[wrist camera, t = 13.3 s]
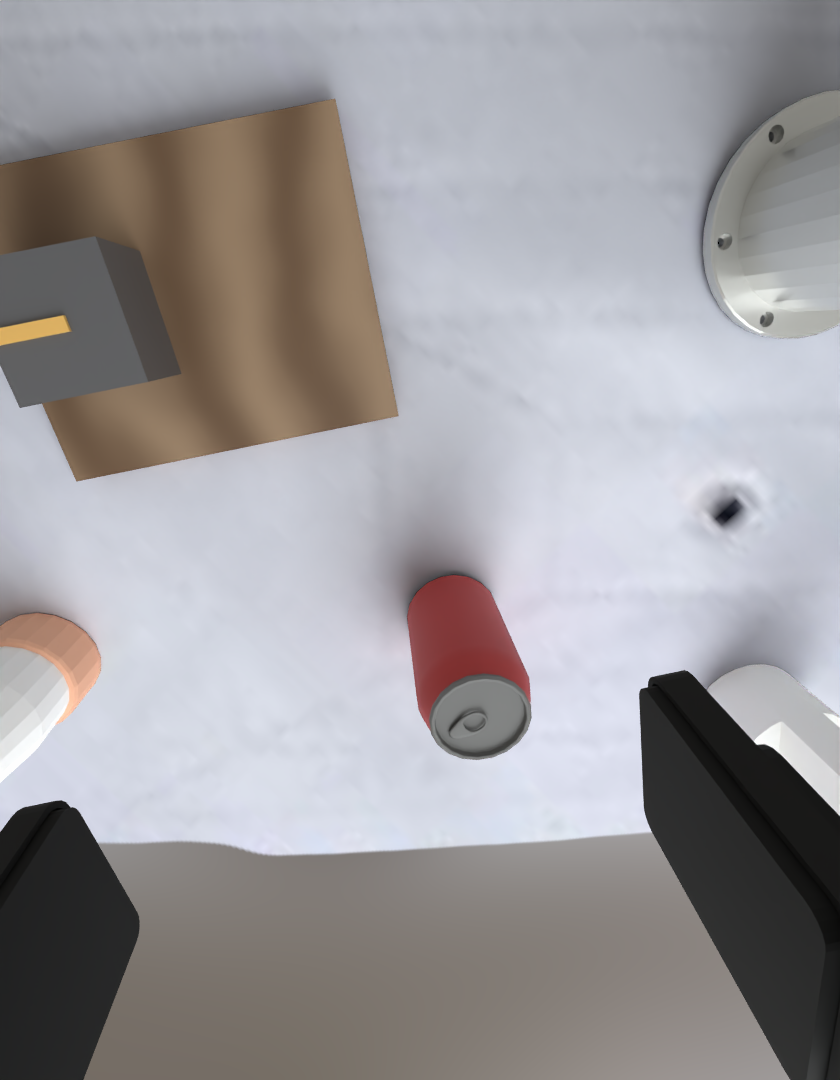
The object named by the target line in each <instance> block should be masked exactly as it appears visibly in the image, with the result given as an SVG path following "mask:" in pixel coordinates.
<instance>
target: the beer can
mask: <svg viewBox="0 0 840 1080" xmlns="http://www.w3.org/2000/svg"><path fill="white" fill-rule="evenodd" d="M407 620H408V628H409V637H410V645H411V653H412V662H413V670H414V678H415V687H416V695H417V701H418V708H419V711H420V713H421V716H422V718H423V719H424V721H425V723H426V724H427V726H428V728H429V729H430V731H431V734H432V736H433V738H434V739H435V741H436V743H437V744H438V745H439V746H440V747H441V748H442V749H444V750H445V751H446V752H447V753H449V754H451V755H454V756H457V757H459V758H462V759H472V760H480V759H486V758H492V757H495V756H497V755H499V754H502V753H504V752H507V751H508V750H509V749H511V748H512V747H513V746H515V745H516V744H517V743H518V742H519V741H520V740H521V739H522V737H523V736H524V734H525V733H526V732H527V730H528V727H529V724H530V721H531V704H530V701H531V699H530V683H529V677H528V675H527V672H526V670H525V668H524V666H523V663H522V661H521V659H520V657H519V654H518V652H517V650H516V648H515V646H514V643H513V641H512V639H511V637H510V634H509V632H508V630H507V628H506V625H505V623H504V621H503V619H502V616H501V614H500V612H499V610H498V608H497V605H496V603H495V601H494V599H493V597H492V595H491V593H490V591H489V590H488V589H487V588H486V587H485V586H484V585H483V584H482V583H480V582H478V581H476V580H474V579H472V578H470V577H465V576H458V575H450V576H444V577H439V578H437V579H435V580H433V581H431V582H428V583H427V584H426V585H425V586H423V587H422V588H421V589H420V590H419V591H418V592H417V593H416V594H415V596H414V598H413V599H412V601H411V603H410V605H409V610H408V615H407Z"/></svg>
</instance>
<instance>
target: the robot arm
mask: <svg viewBox="0 0 840 1080" xmlns="http://www.w3.org/2000/svg"><path fill="white" fill-rule="evenodd" d="M718 240H719V246H718V244H717V243H718ZM703 258H704V267H705V274H706V277H707V280H708V283H709V286H710V290H711V292H712V294H713V296H714V298H715V300H716V301H717V303H718V305H719V307H720V308H721V309H722V310H723V312H724V313H725V314H726V315H727V316H728V317H729V318H730V319H731V320H732V321H733V322H734V323H736V324H737V325H739V326H740V327H742V328H743V329H745V330H746V331H749V332H751V333H754V334H757V335H760V336H762V337H771V338H779V339H783V338H802V337H807V336H812V335H817V334H819V333H822V332H824V331H827V330H829V329H832V328H834V327H836V326H838V325H839V324H840V90H833V91H825V92H822V93H819V94H816V95H812V96H809V97H806V98H804V99H802V100H800V101H798V102H796V103H794V104H792V105H790V106H788V107H786V108H784V109H783V110H781V111H780V112H778V113H777V114H775V115H774V116H772V117H771V118H769V119H768V120H766V121H765V122H763V123H762V124H761V125H760V126H759V127H758V128H757V129H756V130H755V131H754V132H753V133H752V134H751V135H750V136H749V137H748V138H747V139H746V140H745V141H744V142H743V144H742V145H741V146H740V147H739V149H738V150H737V151H736V153H735V154H734V155H733V157H732V158H731V159H730V161H729V163H728V164H727V166H726V168H725V170H724V172H723V173H722V175H721V177H720V179H719V181H718V183H717V185H716V188H715V191H714V193H713V196H712V199H711V201H710V204H709V207H708V212H707V217H706V222H705V226H704V237H703ZM639 700H640V724H641V748H642V773H643V797H644V811H645V815H646V818H647V821H648V824H649V826H650V829H651V831H652V833H653V834H654V836H655V838H656V840H657V841H658V843H659V845H660V847H661V849H662V851H663V852H664V854H665V856H666V858H667V860H668V861H669V863H670V865H671V867H672V869H673V870H674V872H675V874H676V875H677V878H678V879H679V881H680V883H681V885H682V887H683V888H684V890H685V892H686V894H687V896H688V897H689V899H690V901H691V903H692V905H693V906H694V908H695V910H696V912H697V913H698V915H699V917H700V919H701V921H702V923H703V924H704V926H705V928H706V929H707V931H708V933H709V935H710V937H711V939H712V941H713V942H714V944H715V946H716V948H717V950H718V951H719V953H720V955H721V957H722V959H723V960H724V962H725V964H726V966H727V968H728V969H729V971H730V973H731V975H732V977H733V978H734V980H735V982H736V984H737V986H738V987H739V989H740V991H741V993H742V995H743V996H744V998H745V1000H746V1002H747V1004H748V1005H749V1007H750V1009H751V1011H752V1013H753V1014H754V1016H755V1018H756V1020H757V1022H758V1023H759V1025H760V1027H761V1029H762V1030H763V1032H764V1034H765V1036H766V1038H767V1040H768V1041H769V1043H770V1045H771V1047H772V1049H773V1050H774V1052H775V1054H776V1056H777V1058H778V1059H779V1061H780V1063H781V1065H782V1067H783V1068H784V1070H785V1072H786V1073H787V1075H788V1077H789V1078H790V1080H840V816H839V815H838V814H837V813H836V811H835V810H834V809H833V808H832V807H831V806H830V805H829V804H828V803H827V802H826V801H825V800H824V799H823V798H822V797H821V796H820V795H819V794H818V793H817V792H816V791H815V790H814V789H813V787H812V786H811V785H810V784H809V783H808V782H807V781H806V780H805V779H804V778H803V777H802V776H801V775H800V774H799V773H798V772H797V771H796V770H795V769H794V768H793V767H792V766H791V765H790V763H789V762H788V761H787V760H786V759H785V758H784V757H783V756H782V755H781V754H779V753H778V752H777V751H776V750H775V749H774V748H772V747H770V746H768V745H766V744H759V745H757V744H756V743H755V742H754V741H753V740H752V739H751V738H750V737H749V736H748V735H747V734H746V733H745V731H744V730H743V729H742V728H741V727H740V726H739V725H738V724H737V723H736V722H735V721H734V720H733V718H732V717H731V716H730V715H729V714H728V713H727V712H726V711H725V710H724V709H723V708H722V707H721V705H720V704H719V703H718V702H717V701H716V700H715V699H714V698H713V697H712V696H711V695H710V694H709V692H708V691H707V690H706V689H705V688H704V687H703V686H702V685H701V684H700V683H699V682H698V681H697V679H696V678H695V677H694V676H693V675H692V674H691V673H689V672H688V671H685V670H684V671H679V672H674V673H669V674H664V675H659V676H655V677H651V678H650V679H649V682H648V688H643V689H641V690H640V693H639ZM138 934H139V916H138V913H137V911H136V910H135V908H134V906H133V904H132V902H131V901H130V899H129V897H128V896H127V894H126V892H125V890H124V889H123V887H122V885H121V883H120V882H119V880H118V878H117V876H116V875H115V873H114V871H113V870H112V868H111V866H110V864H109V863H108V861H107V859H106V857H105V856H104V854H103V852H102V850H101V849H100V847H99V845H98V843H97V842H96V840H95V838H94V837H93V835H92V833H91V831H90V830H89V828H88V826H87V824H86V823H85V821H84V819H83V817H82V816H81V814H80V812H79V811H78V810H77V809H75V808H73V807H72V808H71V807H70V806H69V805H68V804H67V803H66V802H64V801H62V800H61V801H53V802H48V803H43V804H39V805H34V806H29V807H24V808H22V809H20V810H18V811H17V812H16V813H15V814H14V815H13V816H12V817H11V818H10V820H9V821H8V823H7V824H6V825H5V827H4V828H3V829H2V831H1V832H0V1080H83V1079H84V1076H85V1074H86V1071H87V1069H88V1066H89V1063H90V1061H91V1058H92V1056H93V1053H94V1050H95V1048H96V1045H97V1043H98V1040H99V1037H100V1035H101V1032H102V1030H103V1027H104V1024H105V1022H106V1019H107V1017H108V1014H109V1011H110V1009H111V1006H112V1003H113V1001H114V998H115V996H116V993H117V991H118V988H119V985H120V983H121V980H122V977H123V975H124V972H125V970H126V967H127V965H128V962H129V959H130V957H131V954H132V952H133V949H134V946H135V944H136V941H137V938H138Z"/></svg>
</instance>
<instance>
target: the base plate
mask: <svg viewBox="0 0 840 1080" xmlns="http://www.w3.org/2000/svg"><path fill="white" fill-rule="evenodd" d="M94 236H96V237H99V238H102V239H105V240H108V241H111V242H114V243H117V244H120V245H123V246H126V247H129V248H132V249H135V250H138V251H140V253H141V256H142V259H143V262H144V265H145V268H146V271H147V274H148V276H149V279H150V282H151V285H152V288H153V291H154V294H155V297H156V300H157V303H158V306H159V309H160V312H161V315H162V318H163V321H164V324H165V327H166V330H167V333H168V335H169V338H170V341H171V344H172V347H173V350H174V353H175V356H176V359H177V362H178V365H179V368H180V371H181V374H179V375H175V376H171V377H167V378H162V379H158V380H154V381H150V382H145V383H140V384H135V385H130V386H126V387H121V388H116V389H111V390H106V391H101V392H96V393H91V394H86V395H81V396H76V397H71V398H66V399H61V400H56V401H51V402H46V403H42V404H43V407H44V409H45V411H46V414H47V416H48V418H49V420H50V423H51V425H52V427H53V429H54V432H55V434H56V436H57V438H58V441H59V443H60V445H61V448H62V450H63V452H64V454H65V457H66V459H67V461H68V463H69V466H70V468H71V470H72V472H73V475H74V477H75V479H76V481H81V480H86V479H91V478H96V477H101V476H106V475H111V474H116V473H121V472H125V471H130V470H135V469H140V468H145V467H150V466H155V465H160V464H165V463H170V462H175V461H180V460H185V459H189V458H194V457H199V456H204V455H209V454H214V453H219V452H224V451H229V450H234V449H239V448H244V447H248V446H253V445H258V444H263V443H268V442H273V441H278V440H283V439H288V438H293V437H298V436H303V435H308V434H312V433H317V432H322V431H327V430H332V429H337V428H342V427H347V426H352V425H357V424H362V423H367V422H372V421H376V420H381V419H386V418H391V417H396V416H398V411H397V406H396V401H395V396H394V391H393V386H392V381H391V376H390V371H389V366H388V361H387V356H386V351H385V346H384V341H383V336H382V331H381V326H380V321H379V316H378V311H377V306H376V301H375V296H374V291H373V286H372V281H371V276H370V271H369V266H368V261H367V256H366V251H365V246H364V241H363V236H362V231H361V226H360V221H359V216H358V211H357V206H356V200H355V195H354V190H353V185H352V180H351V175H350V170H349V165H348V160H347V155H346V150H345V145H344V140H343V135H342V130H341V125H340V120H339V115H338V110H337V105H336V100H335V99H331V100H326V101H321V102H316V103H311V104H306V105H301V106H296V107H291V108H286V109H281V110H276V111H271V112H265V113H260V114H255V115H250V116H245V117H240V118H235V119H230V120H225V121H220V122H215V123H210V124H205V125H200V126H195V127H190V128H185V129H180V130H175V131H170V132H165V133H160V134H155V135H150V136H144V137H139V138H134V139H129V140H124V141H119V142H114V143H109V144H104V145H99V146H94V147H89V148H84V149H79V150H74V151H69V152H64V153H59V154H54V155H49V156H44V157H39V158H34V159H29V160H23V161H18V162H13V163H8V164H3V165H0V255H3V254H9V253H14V252H19V251H24V250H29V249H34V248H39V247H44V246H49V245H54V244H59V243H64V242H69V241H74V240H79V239H84V238H89V237H94Z"/></svg>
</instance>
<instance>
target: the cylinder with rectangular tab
mask: <svg viewBox="0 0 840 1080" xmlns="http://www.w3.org/2000/svg"><path fill="white" fill-rule="evenodd" d="M707 691H708V692H709V694H710V695H711V696H712V697H713V698H714V699H715V700H716V701H717V702H718V703H719V704H720V705H721V707H722V708H723V709H724V710H725V711H726V712H727V713H728V714H729V715H730V716H731V717H732V718H733V720H734V721H735V722H736V723H737V724H738V725H739V726H740V727H741V728H742V729H743V730H744V731H745V733H746V734H747V735H748V736H749V737H750V738H751V739H752V740H753V741H754V742H755V743H756V744H757V745H759V744H766V745H768V746H770V747H772V748H774V749H775V750H776V751H777V752H778V753H779V754H781V755H782V756H783V757H784V758H785V759H786V760H787V761H788V762H789V763H790V765H791V766H792V767H793V768H794V769H795V770H796V771H797V772H798V773H799V774H800V775H801V776H802V777H803V778H804V779H805V780H806V781H807V782H808V783H809V784H810V785H811V786H812V787H813V789H814V790H815V791H816V792H817V793H818V794H819V795H820V796H821V797H822V798H823V799H824V800H825V801H826V802H827V803H828V804H829V805H830V806H831V807H832V808H833V809H834V810H835V811H836V813H837V814H838V815H839V816H840V716H839V715H837V714H836V713H835V712H834V711H832V710H831V709H830V708H829V707H828V706H826V705H825V704H824V703H823V702H822V701H820V700H819V699H818V698H817V697H816V696H814V695H813V694H812V693H811V692H810V691H808V690H807V689H806V688H805V687H804V686H802V685H801V684H800V683H799V682H798V681H796V680H795V679H794V678H793V677H792V676H790V675H789V674H788V673H787V672H786V671H784V670H782V669H780V668H778V667H776V666H771V665H765V664H757V665H748V666H744V667H741V668H738V669H734V670H733V671H731V672H729V673H727V674H725V675H723V676H721V677H720V678H719V679H718V680H716V681H715V682H714V683H713V684H711V685H710V686H709V688H708V689H707Z"/></svg>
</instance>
